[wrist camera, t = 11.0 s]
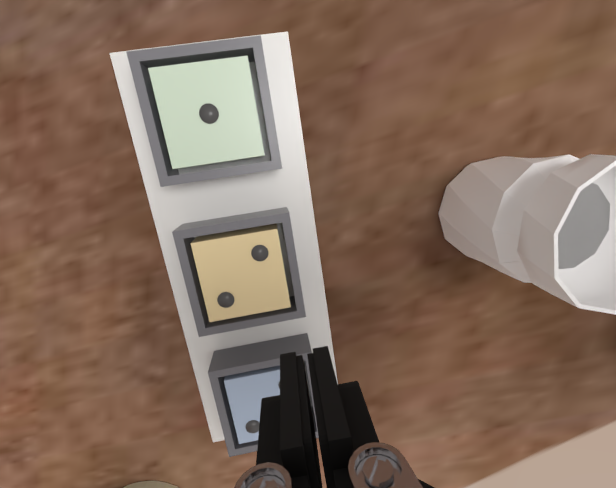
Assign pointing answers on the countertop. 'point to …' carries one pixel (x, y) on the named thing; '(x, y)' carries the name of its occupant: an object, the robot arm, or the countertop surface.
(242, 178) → the button panel
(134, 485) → the reusable coffee cup
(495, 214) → the vase
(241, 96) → the button
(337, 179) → the countertop surface
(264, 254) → the button
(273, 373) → the button
